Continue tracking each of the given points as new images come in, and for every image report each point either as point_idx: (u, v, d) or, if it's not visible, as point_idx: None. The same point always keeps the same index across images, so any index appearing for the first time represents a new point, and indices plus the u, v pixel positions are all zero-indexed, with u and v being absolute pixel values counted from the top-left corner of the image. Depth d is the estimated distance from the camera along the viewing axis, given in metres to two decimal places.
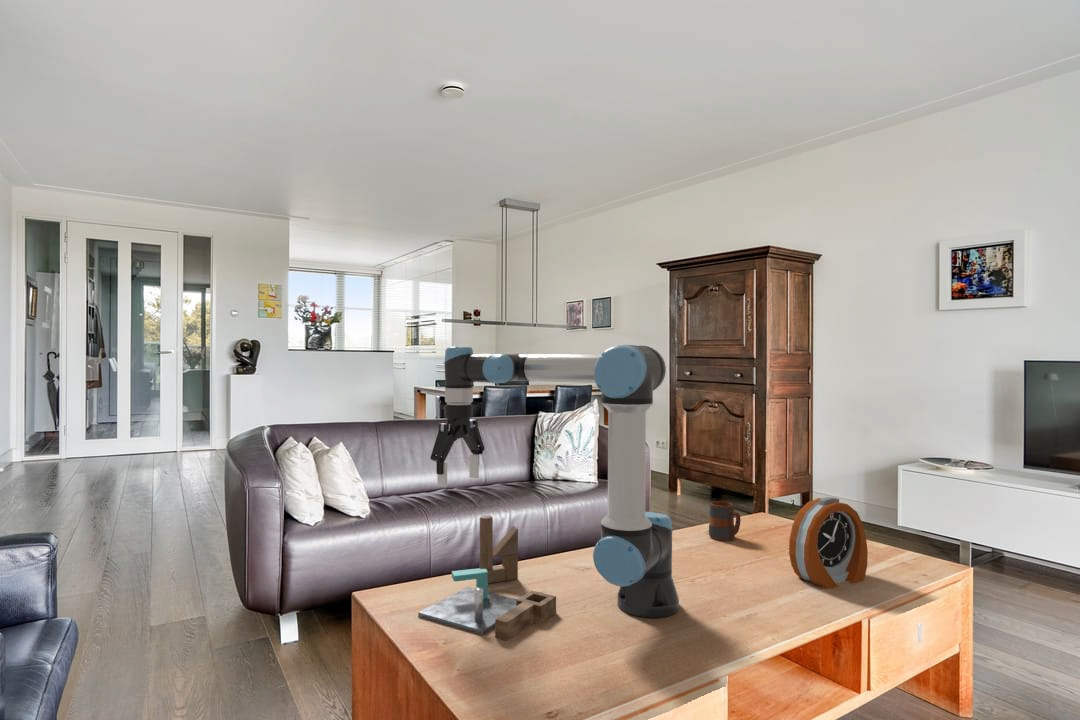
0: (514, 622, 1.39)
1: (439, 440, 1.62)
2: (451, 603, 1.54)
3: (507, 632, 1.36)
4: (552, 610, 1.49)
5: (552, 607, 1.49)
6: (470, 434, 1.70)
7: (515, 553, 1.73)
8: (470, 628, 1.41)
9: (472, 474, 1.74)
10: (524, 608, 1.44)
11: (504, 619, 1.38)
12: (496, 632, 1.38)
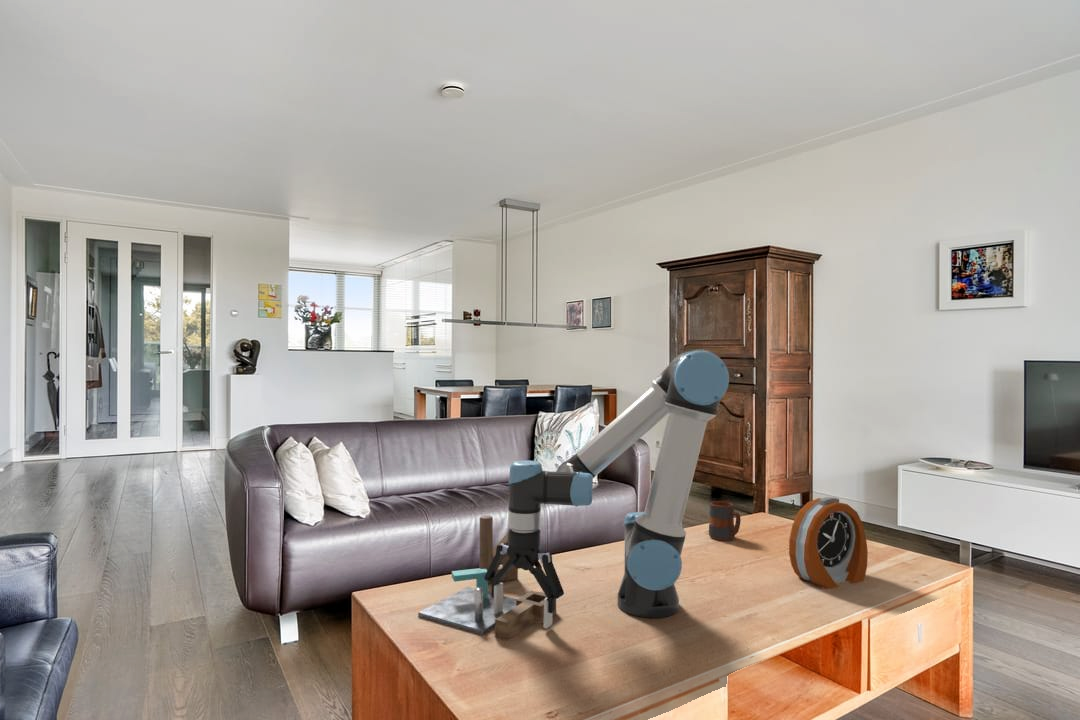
0: (514, 622, 1.39)
1: None
2: (451, 603, 1.54)
3: (507, 632, 1.36)
4: None
5: None
6: (530, 569, 1.42)
7: None
8: (470, 628, 1.41)
9: None
10: (524, 608, 1.44)
11: (504, 619, 1.38)
12: (496, 632, 1.38)
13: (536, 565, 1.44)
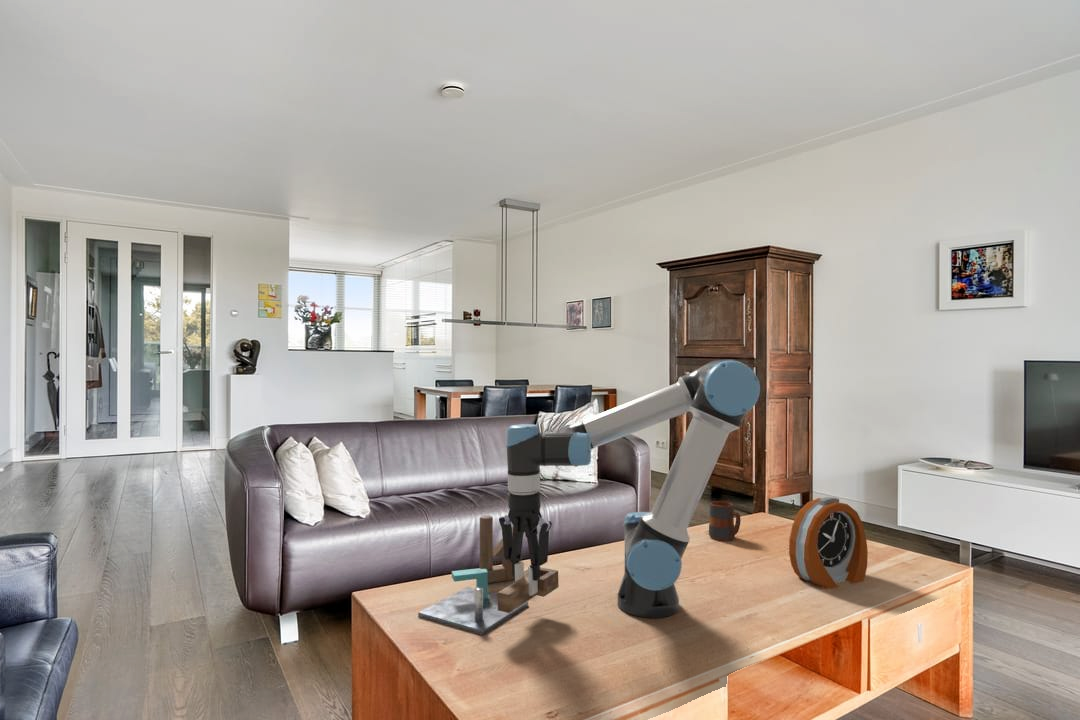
0: (516, 595, 1.39)
1: None
2: (451, 603, 1.54)
3: (509, 604, 1.36)
4: (554, 584, 1.49)
5: (554, 581, 1.49)
6: (526, 533, 1.43)
7: None
8: (470, 628, 1.41)
9: None
10: (526, 582, 1.43)
11: (507, 592, 1.38)
12: (498, 605, 1.37)
13: None
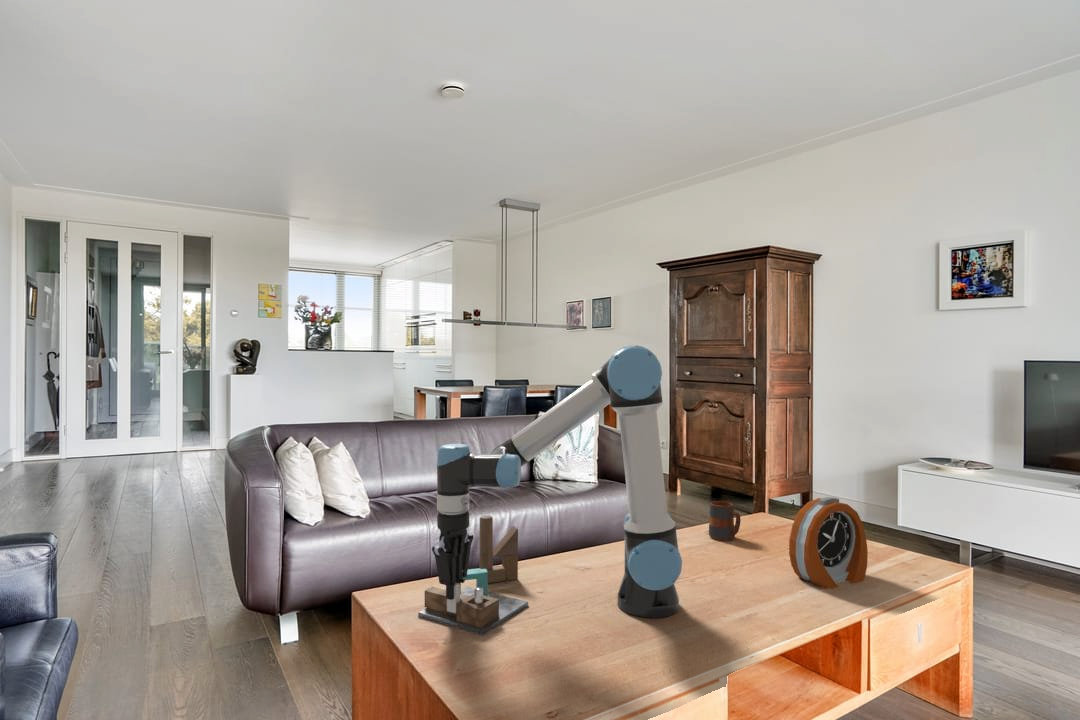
0: (434, 598, 1.50)
1: None
2: None
3: (425, 599, 1.52)
4: (474, 619, 1.41)
5: (474, 617, 1.41)
6: None
7: (515, 553, 1.73)
8: (470, 628, 1.41)
9: None
10: None
11: (431, 589, 1.52)
12: None
13: None
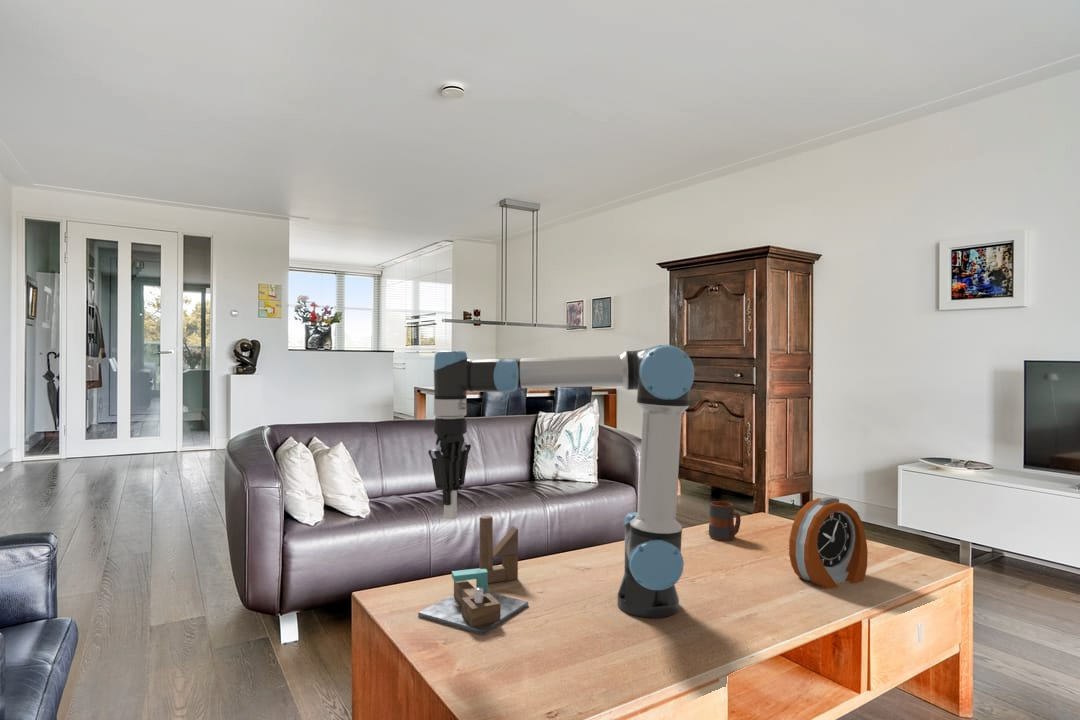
0: (457, 589, 1.56)
1: None
2: (451, 603, 1.54)
3: (454, 589, 1.58)
4: (469, 617, 1.43)
5: (469, 615, 1.42)
6: None
7: (515, 553, 1.73)
8: (470, 628, 1.41)
9: None
10: (467, 591, 1.51)
11: (460, 581, 1.58)
12: None
13: None
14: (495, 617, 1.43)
